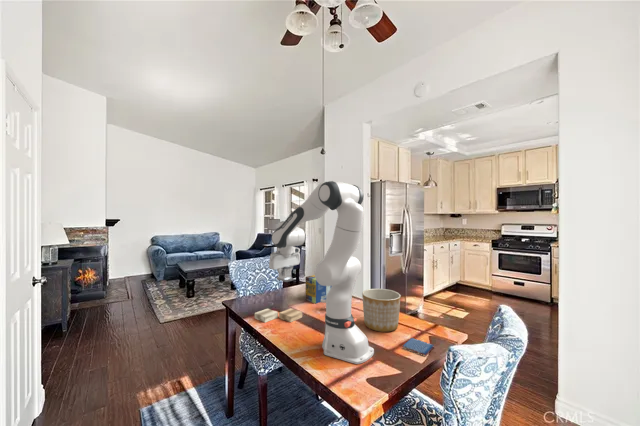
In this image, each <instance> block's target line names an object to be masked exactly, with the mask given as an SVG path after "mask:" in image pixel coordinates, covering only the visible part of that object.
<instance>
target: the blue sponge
mask: <svg viewBox="0 0 640 426" xmlns="http://www.w3.org/2000/svg"><path fill="white" fill-rule="evenodd" d="M401 348H402V350H405V351H407V352H411V353H415V354H417V355H421V354H422V355H421V356H423V357H425V355H427V356H428V354H429V353H430V352H431V351H432V350H433V349H434V348H435V347H434V344H431V343H427V341H426V342H425V341H422V340H420V339H415V338H414V337H412V338H411V337H410V339H408V340H407V342H405V343H404V344H403V345H402V346H401Z"/></svg>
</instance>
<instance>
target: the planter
mask: <svg viewBox="0 0 640 426" xmlns="http://www.w3.org/2000/svg"><path fill="white" fill-rule="evenodd" d="M361 295H362V296H361V297H362V308H363V309H362V311H363V322H364V323H363V324H365V326H366V328H368V329H370V330H371V331H375V332H380V333H385V332H386V333H387V332H393V331H395V330H397V329H398V327H399V319H400V308H401V296H402V295H401V294H400V293H399V292H397V291H395V290H392V289H387V288H369V289H365V290H364V291H362V293H361Z"/></svg>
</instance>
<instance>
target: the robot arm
mask: <svg viewBox="0 0 640 426" xmlns="http://www.w3.org/2000/svg"><path fill="white" fill-rule="evenodd" d="M363 201H364V191H363V190H362V188H361V187H360V186H359V185H358V186H357V185H355V184H350V183H346V182H344V181H333V180H329V181H322V182H320V183H319V184H318V185H317V186H316V187H315V188H314V189H313V191H312V192H311V193H310V195H309V196H308V197H307V199H306V200H305V201H304V202H303V203H302V204H301V205H299V206H298V207H296V208H295V209H294V210H293V211H292V212H291V213H290V214H289V215H288V216H287V218H286V219H285V220H283V221H280V222H278V225H277V228H276V229H275V230H274V231H273V232H272V234H271V243H272V244H273V245H274V246H275V247H276V251H272V252H271V253H270V254H269V255H270V256H269V262H268V268H269V269H270V270H276V271H277V274H278V276H283V275H282V274H283V273H281V268H284V267H285V266H290V265H292V266H293V267H294V266H297V265H300V263H301V254H300V251H301V249H300V248H299V247H297V246H303V245H304V243H305V242H306V238H307V237H306V236H307V234H306V232H305V230H304V229H303V228H302V227H299V225H300V224H302V223H306V222H309V221H314V220H319V219H320V218H322V217H323V216H324V215H325V214H326V213H327V212H328V210H329V209H330V210H331V211H335V210H336V212H337V218H336V223H335V226H334V227H335V228H334V232H333V236H332V240H331V243H330V245H329V247H328V249H327V251H326V253H325V254H324V256H323V258H322V260H320V262H319V263H317V264H316V266H315V268H314V274H313V275H315V278H316V280H317V282H318V283H319V284H320V285H322V286H332V287H331V289H330V291H329V292H328V294H327V296H326V303H325V313H324V323H325V327H324V328H325V331H324V336H323V337H324V338H323V341H322V345H321V347H322V350H323V354H324V355H325V356H327V357H331V358H334V359H338V360H342V361H344V362H348V363H352V364H356V365H359V364H363V363H366V362H367V361H368V360H370V359H371V358H372V357H373V356H374V354H375V349H374V348H373V347H372V346H370V345H369V341H368V337H367V336H366V334H365V333H364V332H363V331H362V330H361V329H360V328H359V326H357V325H356V322H357V317H355V318H354V316H353V314H352V304H353V303H352V301H353V299H352V297H353V294H354V293H353V292H354V289H355V285H356V281H357V279H358V277H359V275H360V274H361V272H362V263H361V261H360V260H359V259H358V258H357V257H356V256H353V254H354V253H355V252H356V251H357V249H358V247H359V242H360V239H361V233H362V230H363V223H364V215H365V214H364V213H365V211H364V208H363V206H362V203H363ZM292 270H293V268H291V272H292Z"/></svg>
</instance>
